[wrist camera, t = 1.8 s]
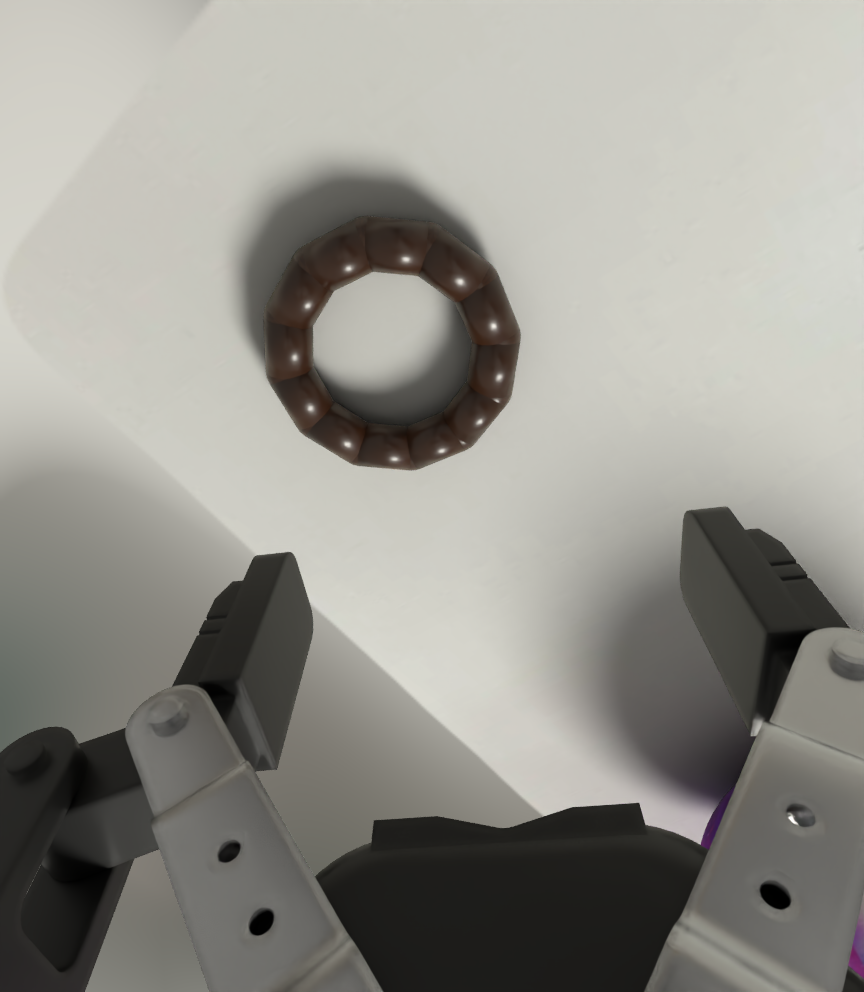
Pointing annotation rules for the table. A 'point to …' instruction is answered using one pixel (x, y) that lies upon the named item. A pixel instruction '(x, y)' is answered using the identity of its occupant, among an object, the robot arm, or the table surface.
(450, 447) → the ring
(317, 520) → the table surface
